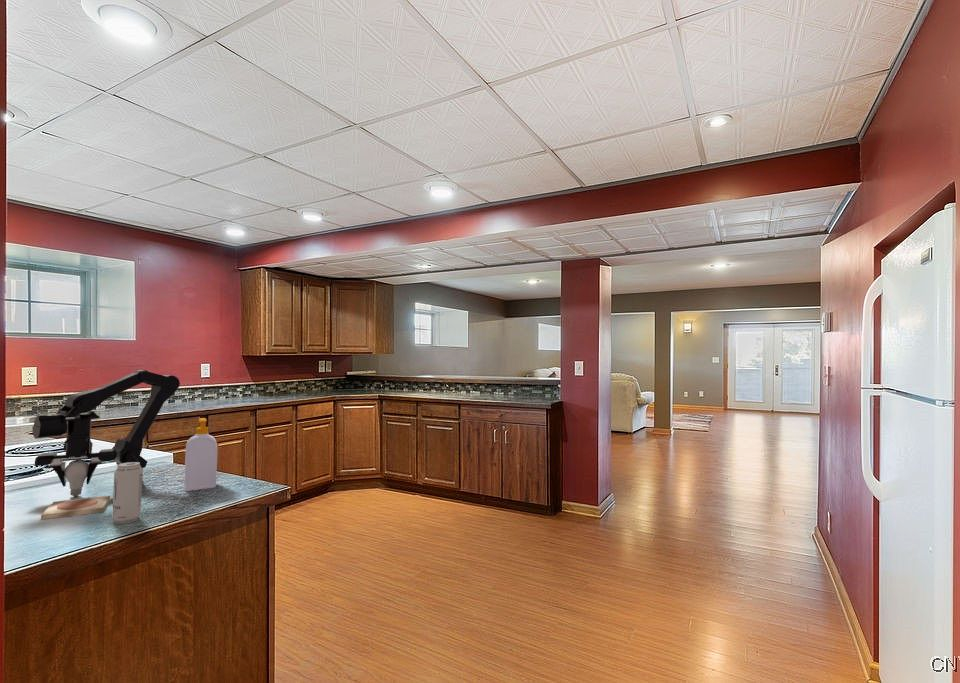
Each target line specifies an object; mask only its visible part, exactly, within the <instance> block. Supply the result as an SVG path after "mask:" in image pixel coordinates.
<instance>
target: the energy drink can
mask: <svg viewBox="0 0 960 683" xmlns="http://www.w3.org/2000/svg"><path fill="white" fill-rule="evenodd" d="M142 488H143V484H142V467H141V466H140V463H139V462H127V463H121V464H118V466H117V467H116V469H115V470H114V472H113V492H112V495H113V496H112V497H113V498H112V516H111V520H112V521H114V524H116V525H124V524H130V523H133V522H136V521H138V519H139V517H140V516H141V514H142V513H141V511H142V510H141V508H142V490H143V489H142Z"/></svg>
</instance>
